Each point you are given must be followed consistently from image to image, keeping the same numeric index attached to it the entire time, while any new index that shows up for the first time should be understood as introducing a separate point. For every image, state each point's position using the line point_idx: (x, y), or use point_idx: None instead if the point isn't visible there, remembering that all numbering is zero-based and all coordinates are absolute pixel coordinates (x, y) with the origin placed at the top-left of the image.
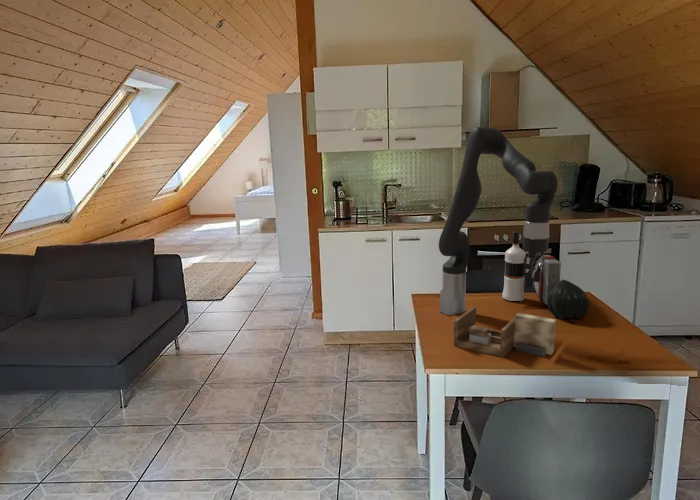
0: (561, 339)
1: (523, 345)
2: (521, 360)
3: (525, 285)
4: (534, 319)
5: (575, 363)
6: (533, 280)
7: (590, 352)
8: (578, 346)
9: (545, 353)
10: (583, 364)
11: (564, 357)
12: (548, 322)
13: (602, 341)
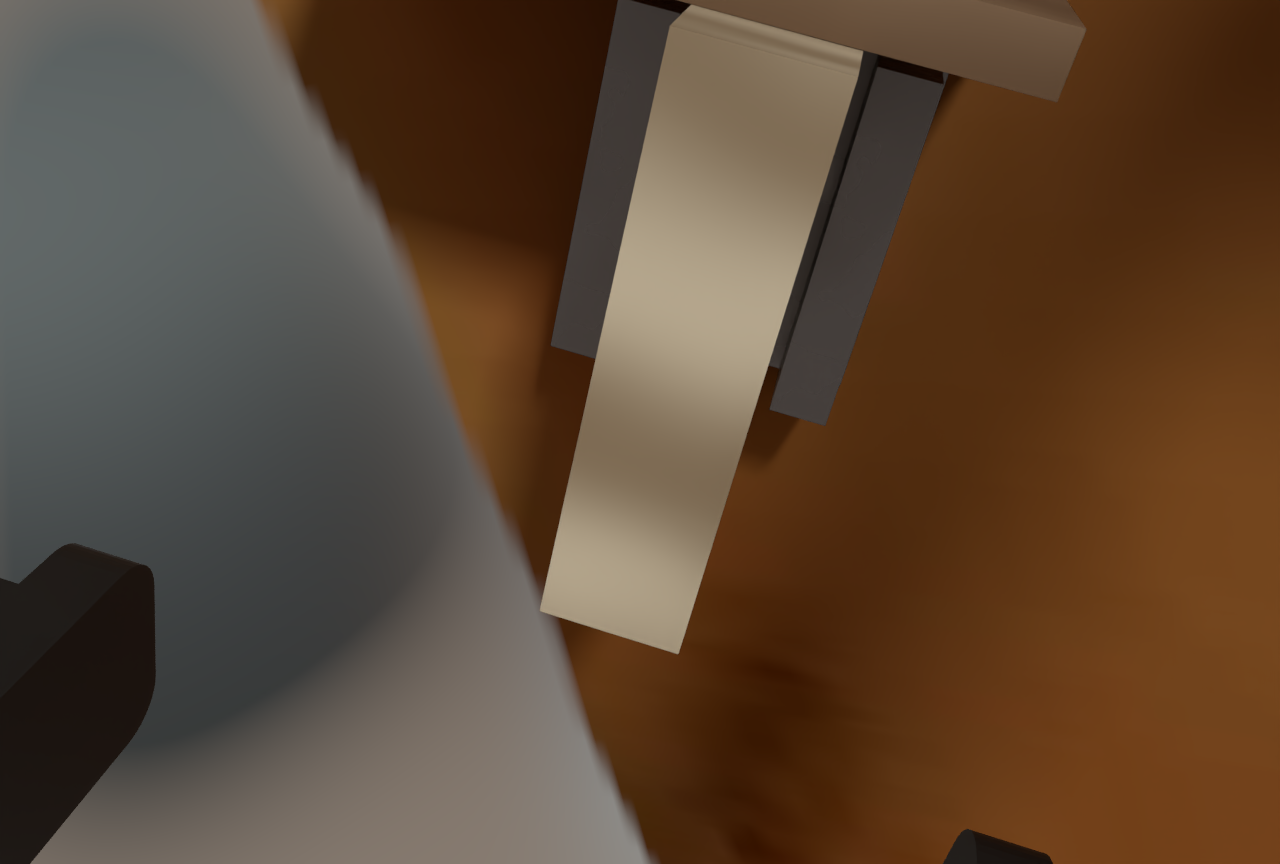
0: (1245, 506)
1: (599, 98)
2: (468, 58)
3: (24, 596)
4: (596, 366)
5: None
6: (973, 856)
7: (912, 702)
8: (1050, 634)
9: None
10: None
11: None
12: (556, 545)
13: (1239, 843)
